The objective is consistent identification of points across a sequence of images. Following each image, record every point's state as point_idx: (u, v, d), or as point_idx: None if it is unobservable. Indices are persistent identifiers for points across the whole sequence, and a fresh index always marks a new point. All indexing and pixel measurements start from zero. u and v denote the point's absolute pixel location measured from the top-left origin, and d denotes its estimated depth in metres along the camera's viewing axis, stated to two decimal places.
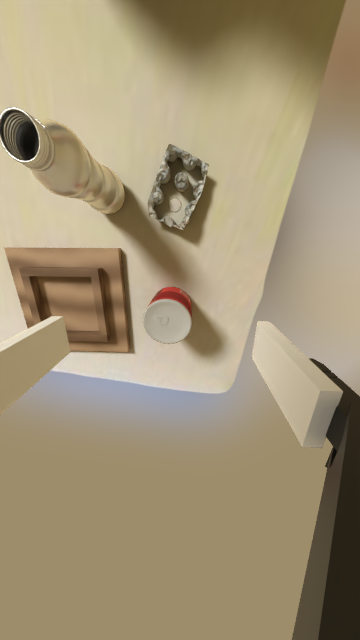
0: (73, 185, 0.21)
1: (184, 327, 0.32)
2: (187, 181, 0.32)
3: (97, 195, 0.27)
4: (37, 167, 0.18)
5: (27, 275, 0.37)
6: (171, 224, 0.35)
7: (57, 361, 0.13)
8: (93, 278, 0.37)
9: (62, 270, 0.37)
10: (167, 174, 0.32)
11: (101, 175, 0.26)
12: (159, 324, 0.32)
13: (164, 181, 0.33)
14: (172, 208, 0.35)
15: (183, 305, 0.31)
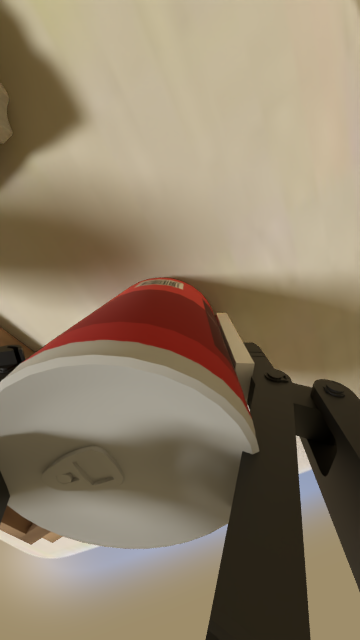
0: None
1: (212, 437, 0.05)
2: None
3: None
4: None
5: None
6: None
7: None
8: None
9: None
10: None
11: None
12: (102, 489, 0.06)
13: None
14: None
15: (99, 340, 0.05)
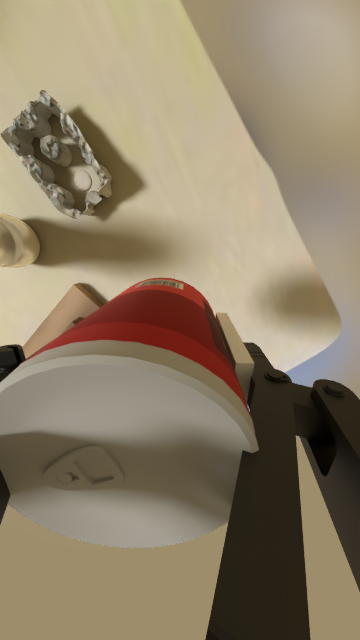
0: None
1: (212, 437, 0.05)
2: (54, 138, 0.22)
3: None
4: None
5: None
6: (98, 196, 0.24)
7: None
8: None
9: None
10: (37, 162, 0.23)
11: None
12: (102, 488, 0.06)
13: (48, 175, 0.24)
14: (84, 186, 0.25)
15: (99, 341, 0.05)
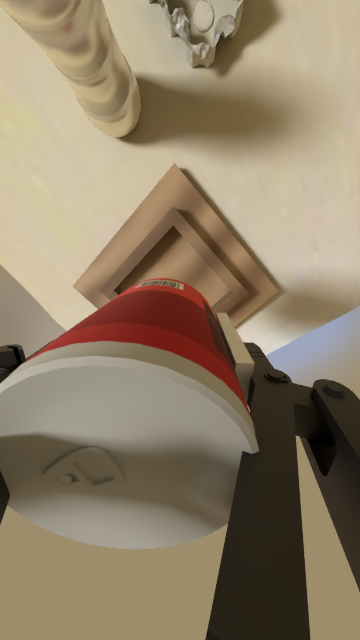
0: None
1: (212, 438, 0.05)
2: None
3: (109, 34, 0.15)
4: None
5: (111, 290, 0.28)
6: (231, 22, 0.19)
7: None
8: (177, 224, 0.25)
9: (139, 249, 0.26)
10: None
11: None
12: (102, 489, 0.06)
13: None
14: (205, 24, 0.21)
15: (99, 342, 0.05)
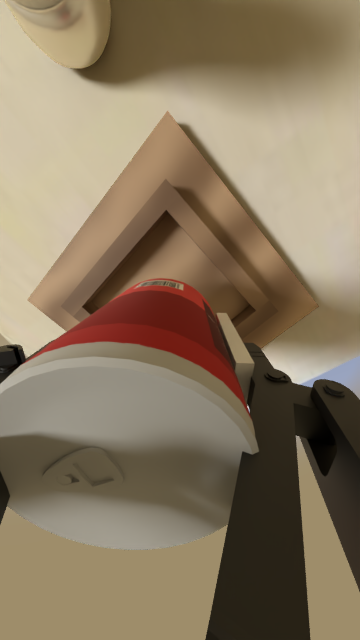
0: None
1: (212, 439, 0.05)
2: None
3: None
4: None
5: (79, 307, 0.19)
6: None
7: None
8: (172, 208, 0.16)
9: (115, 246, 0.17)
10: None
11: None
12: (102, 490, 0.06)
13: None
14: None
15: (99, 342, 0.05)
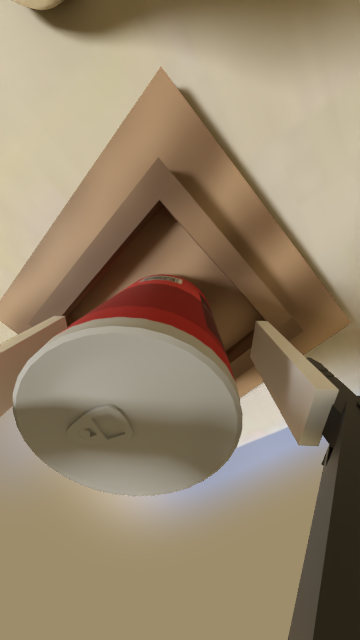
0: None
1: (203, 395, 0.06)
2: None
3: None
4: None
5: None
6: None
7: None
8: (167, 198, 0.12)
9: (94, 248, 0.13)
10: None
11: None
12: (115, 444, 0.07)
13: None
14: None
15: (115, 318, 0.06)
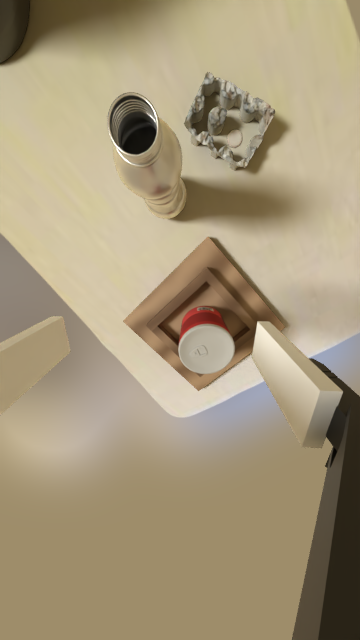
0: (178, 162, 0.18)
1: (225, 342, 0.27)
2: (219, 107, 0.27)
3: (179, 182, 0.24)
4: (157, 152, 0.15)
5: (155, 326, 0.36)
6: (259, 138, 0.28)
7: (57, 361, 0.13)
8: (209, 280, 0.33)
9: (179, 297, 0.34)
10: (209, 134, 0.28)
11: None
12: (201, 357, 0.28)
13: None
14: (237, 142, 0.30)
15: (206, 324, 0.27)
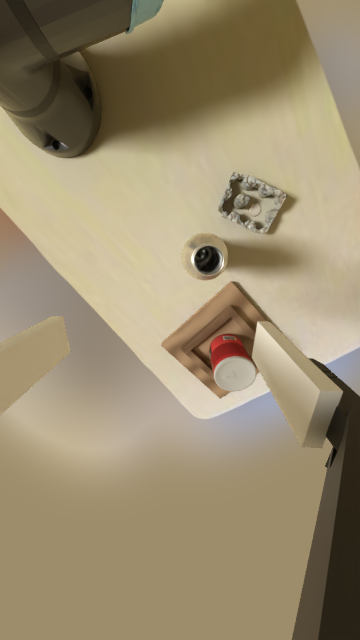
0: (226, 262, 0.27)
1: (249, 369, 0.37)
2: (243, 193, 0.35)
3: None
4: None
5: (189, 350, 0.46)
6: (275, 211, 0.36)
7: (57, 361, 0.13)
8: (233, 316, 0.42)
9: (209, 328, 0.44)
10: (237, 213, 0.36)
11: None
12: (230, 379, 0.38)
13: None
14: (257, 212, 0.38)
15: (235, 356, 0.36)
